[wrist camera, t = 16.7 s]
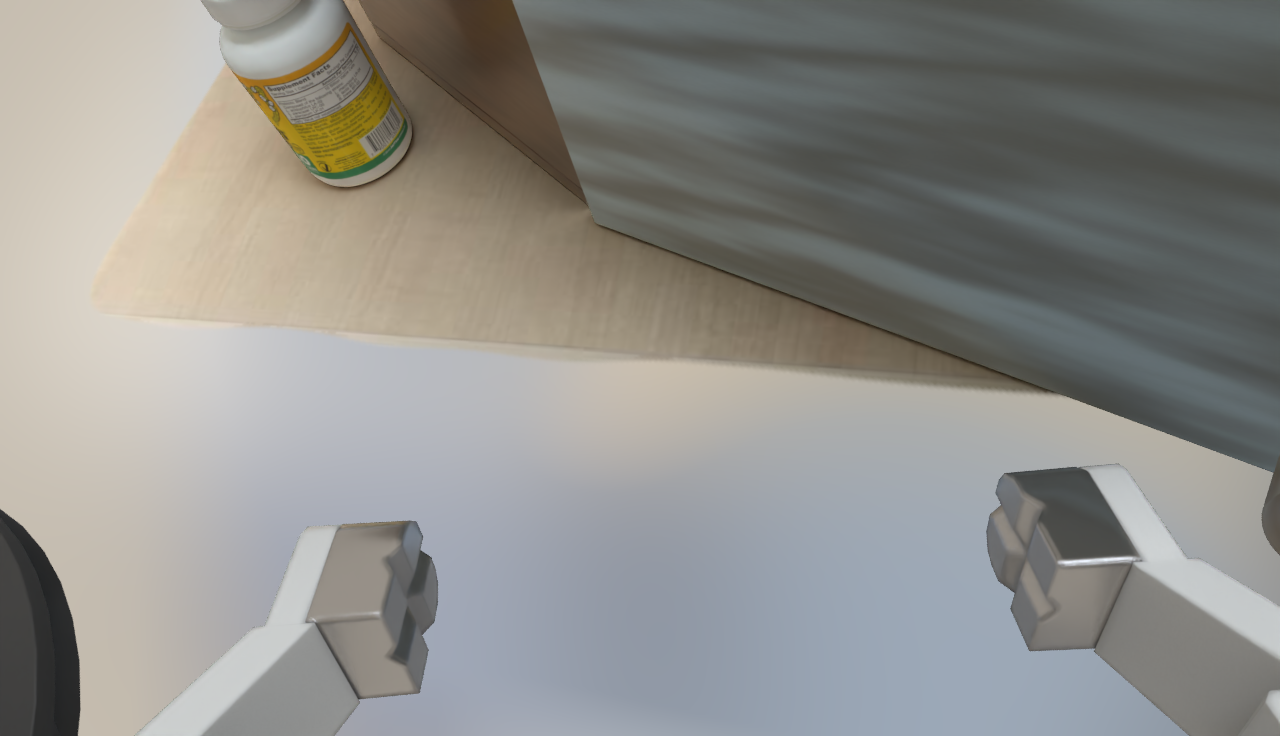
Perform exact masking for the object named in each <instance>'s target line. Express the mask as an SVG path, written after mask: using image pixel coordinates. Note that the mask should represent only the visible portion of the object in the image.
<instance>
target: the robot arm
mask: <svg viewBox="0 0 1280 736" xmlns="http://www.w3.org/2000/svg"><path fill="white" fill-rule="evenodd" d="M996 495H997V496H998V499H999V501H1000V503H1001V506H1000V507H998V508H997V509H996V510H995V511H994V512H993V513H991V514H990V517H989V522H988V526H987V547H988V553H989V557H990V561H991V564H992V567H993V569H994V572H995V574H996V577H997V579H998V581H999V582H1000V583H1002V584H1003V585H1004V586H1006V587H1008V588H1009V589H1010V590H1011V591H1013V592H1014V593H1015V595H1014V598H1013V602H1012V605H1011V611H1012V613H1013V616H1014V618H1015V620H1016V622H1017V625H1018V627H1019V629H1020V631H1021V634H1022V636H1023V638H1024V640H1025V643H1026V645H1027V647H1028V649H1029V651H1044V650H1045V651H1046V650H1068V649H1092V648H1095V650H1094V652H1095V653H1096V654H1097V655H1098V656H1100V657H1101V658H1102V659H1103V660H1104V661H1105V662H1106V663H1108V664H1109V665H1110V666H1111V667H1112V668H1113V669H1114V670H1115V671H1117V672H1118V673H1119V674H1120V675H1121V676H1122V677H1123V678H1125V679H1126V680H1127V681H1128V682H1129V683H1130V684H1131V685H1133V686H1134V687H1135V688H1136V689H1137V690H1138V691H1139V692H1140V693H1142V694H1143V695H1144V696H1145V697H1146V698H1147V699H1148V700H1150V701H1151V702H1152V703H1153V704H1154V705H1155V706H1156V707H1157V708H1158V709H1160V710H1161V711H1162V712H1163V713H1164V714H1165V715H1166V716H1168V717H1169V718H1170V719H1171V720H1172V721H1173V722H1174V723H1175V724H1177V725H1178V726H1179V727H1180V728H1181V729H1182V730H1183V731H1185V732H1186V733H1187V734H1188V735H1189V736H1280V606H1279V605H1277V604H1275V603H1274V602H1272V601H1270V600H1268V599H1267V598H1265V597H1264V596H1262V595H1260V594H1259V593H1257V592H1255V591H1254V590H1252V589H1250V588H1249V587H1247V586H1245V585H1244V584H1242V583H1240V582H1238V581H1237V580H1235V579H1234V578H1232V577H1230V576H1229V575H1227V574H1225V573H1224V572H1222V571H1220V570H1219V569H1217V568H1215V567H1214V566H1212V565H1210V564H1209V563H1207V562H1205V561H1204V560H1202V559H1200V558H1187V557H1186V555H1185V554H1184V552H1183V551H1182V549H1181V548H1180V546H1179V545H1178V543H1177V542H1176V540H1175V539H1174V538H1173V536H1172V535H1171V533H1170V532H1169V530H1168V529H1167V527H1166V526H1165V524H1164V523H1163V522H1162V520H1161V519H1160V517H1159V516H1158V514H1157V513H1156V511H1155V510H1154V508H1153V507H1152V506H1151V504H1150V503H1149V501H1148V500H1147V498H1146V497H1145V495H1144V494H1143V493H1142V491H1141V489H1140V488H1139V487H1138V485H1137V484H1136V482H1135V481H1134V479H1133V478H1132V476H1131V475H1130V473H1129V472H1128V470H1127V469H1126V468H1124V467H1123V466H1121V465H1120V464H1110V465H1097V466H1086V467H1079V468H1077V467H1069V468H1058V469H1047V470H1037V471H1025V472H1014V473H1004V475H1003V476H1002V477H1001V478H1000V479H999V482H998V485H997V489H996ZM422 540H423V535H422V533H421V531H420V529H419V527H418V524H417V522H416V521H395V522H378V523H377V522H376V523H357V524H342V525H328V526H312V527H307V528H306V529H305V531H304V532H303V533H302V534H301V535H300V536H299V538H298V541H297V544H296V546H295V549H294V551H293V554H292V556H291V559H290V562H289V564H288V566H287V569H286V571H285V574H284V577H283V579H282V582H281V585H280V587H279V589H278V592H277V594H276V597H275V600H274V602H273V605H272V608H271V610H270V612H269V615H268V617H267V620H266V622H265V625H264V626H261V627H253V628H252V629H251V630H250V631H249V632H248V633H247V634H246V635H244V636H243V637H242V638H241V639H240V640H239V641H238V642H237V643H236V644H235V645H233V646H232V647H231V648H230V649H229V650H228V651H227V652H226V653H225V654H224V655H222V656H221V657H220V658H219V659H218V660H217V661H216V662H215V663H214V664H212V665H211V666H210V667H209V668H208V669H207V670H206V671H205V672H204V673H203V674H201V675H200V676H199V677H198V678H197V679H196V680H195V681H194V682H193V683H192V684H190V685H189V686H188V687H187V688H186V689H185V690H184V691H183V692H182V693H180V694H179V695H178V696H177V697H176V698H175V699H174V700H173V701H172V702H171V703H170V704H169V705H167V706H166V707H165V708H164V709H163V710H162V711H161V712H160V713H158V714H157V715H156V716H155V717H154V718H153V719H152V720H151V721H150V722H149V723H147V724H146V725H145V726H144V727H143V728H142V729H141V730H140V731H139V732H138V733H137V734H136V735H134V736H335V734H336V733H337V732H338V730H339V729H340V728H341V727H342V725H343V724H344V723H345V721H346V720H347V719H348V718H349V716H350V715H351V714H352V712H353V711H354V710H355V709H356V707H357V706H358V705H359V703H360V701H359V699H366V698H377V697H387V696H397V695H408V694H418V693H420V689H421V684H422V679H423V675H424V670H425V665H426V660H427V655H428V651H429V650H428V648H427V645H426V643H425V641H424V638H423V636H422V635H423V634H424V632H426V630H427V629H428V628H429V627H430V626H431V625H432V624H433V623H434V621H435V616H436V610H437V605H438V604H437V603H438V581H437V576H436V570H435V566H434V564H433V561H432V558H431V557H430V556H429V555H427V554H425V553H424V552H422V551H421V550H420V548H421V544H422Z"/></svg>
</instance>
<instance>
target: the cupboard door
mask: <svg viewBox="0 0 1280 736" xmlns="http://www.w3.org/2000/svg"><path fill="white" fill-rule="evenodd" d="M512 1H513V4H514V7H515V9H516V12H517V15H518V17H519V20H520V23H521V26H522V28H523V31H524V34H525V36H526V39H527V42H528V44H529V47H530V50H531V52H532V55H533V58H534V61H535V63H536V66H537V69H538V71H539V74H540V77H541V79H542V82H543V85H544V87H545V90H546V93H547V96H548V98H549V101H550V104H551V106H552V109H553V112H554V114H555V117H556V120H557V122H558V125H559V128H560V131H561V133H562V136H563V139H564V141H565V144H566V147H567V149H568V152H569V155H570V157H571V160H572V163H573V166H574V168H575V171H576V174H577V176H578V179H579V182H580V184H581V187H582V190H583V192H584V195H585V198H586V201H587V203H588V206H589V209H590V211H591V214H592V217H593V219H594V222H595V223H597V224H599V225H602V226H605V227H608V228H610V229H613V230H616V231H618V232H621V233H624V234H627V235H629V236H632V237H635V238H637V239H640V240H643V241H646V242H648V243H651V244H654V245H656V246H659V247H662V248H665V249H667V250H670V251H673V252H675V253H678V254H681V255H684V256H686V257H689V258H692V259H694V260H697V261H700V262H703V263H705V264H708V265H711V266H714V267H716V268H719V269H722V270H724V271H727V272H730V273H733V274H735V275H738V276H741V277H743V278H746V279H749V280H752V281H754V282H757V283H760V284H762V285H765V286H768V287H771V288H773V289H776V290H779V291H781V292H784V293H787V294H790V295H792V296H795V297H798V298H800V299H803V300H806V301H809V302H811V303H814V304H817V305H819V306H822V307H825V308H828V309H830V310H833V311H836V312H839V313H841V314H844V315H847V316H849V317H852V318H855V319H858V320H860V321H863V322H866V323H868V324H871V325H874V326H877V327H879V328H882V329H885V330H887V331H890V332H893V333H896V334H898V335H901V336H904V337H906V338H909V339H912V340H915V341H917V342H920V343H923V344H925V345H928V346H931V347H934V348H936V349H939V350H942V351H945V352H947V353H950V354H953V355H955V356H958V357H961V358H964V359H966V360H969V361H972V362H974V363H977V364H980V365H983V366H985V367H988V368H991V369H993V370H996V371H999V372H1002V373H1004V374H1007V375H1010V376H1012V377H1015V378H1018V379H1021V380H1023V381H1026V382H1029V383H1031V384H1034V385H1037V386H1040V387H1042V388H1045V389H1048V390H1051V391H1053V392H1056V393H1059V394H1061V395H1064V396H1067V397H1070V398H1072V399H1075V400H1078V401H1080V402H1083V403H1086V404H1089V405H1091V406H1094V407H1097V408H1099V409H1102V410H1105V411H1108V412H1110V413H1113V414H1116V415H1118V416H1121V417H1124V418H1127V419H1130V420H1132V421H1135V422H1137V423H1140V424H1143V425H1146V426H1148V427H1151V428H1154V429H1156V430H1160V431H1162V432H1165V433H1167V434H1170V435H1173V436H1176V437H1179V438H1181V439H1184V440H1187V441H1189V442H1192V443H1195V444H1197V445H1200V446H1203V447H1205V448H1208V449H1211V450H1214V451H1216V452H1219V453H1222V454H1225V455H1227V456H1230V457H1233V458H1235V459H1238V460H1241V461H1244V462H1246V463H1249V464H1252V465H1254V466H1257V467H1260V468H1262V469H1265V470H1268V471H1271V472H1273V473H1274V474H1273V477H1272V481H1271V484H1270V487H1269V491H1268V494H1267V497H1266V500H1265V504H1264V507H1263V511H1262V526H1263V530H1264V533H1265V535H1266V538H1267V540H1268V541H1269V543H1270V545H1271V546H1272V547H1273V548H1274V550H1275V551H1276V552H1277V553H1278V554H1279V555H1280V0H512Z"/></svg>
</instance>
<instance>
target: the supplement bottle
mask: <svg viewBox="0 0 1280 736" xmlns="http://www.w3.org/2000/svg"><path fill="white" fill-rule="evenodd" d="M201 2H202V3H203V5H204V6H205V7H206V9H207V10H208V12H209V13H210V15H211V16H212V18H213V19H214V20H216V21H217V22H219V23H220V24H221V25H222V28H221V31H220V41H219V42H220V50H221V53H222V56H223V58H224V60H225V62H226V63H227V65H228V66H229V68H230V69H231V70H232V72H233V73H234V74H235V75H236V77H237V78H238V80H239V81H240V82H241V83H242V85H243V86H244V87H245V89H246V90H247V91H248V92H249V94H250V95H251V96H252V98H253V99H254V100H255V102H256V103H257V104H258V106H259V107H260V108H261V109H262V111H263V112H264V113H265V115H266V116H267V117H268V118H269V120H270V121H271V122H272V124H273V125H274V126H275V128H276V129H277V130H278V131H279V133H280V134H281V135H282V137H283V138H284V139H285V140H286V142H287V143H288V144H289V146H290V147H291V148H292V150H293V151H294V152H295V154H296V155H297V156H298V158H299V159H300V160H301V162H302V163H303V164H304V165H305V166H306V168H307V169H308V170H309V171H310V173H312V174H313V175H314V176H315V177H316V178H318V179H319V180H321V181H323V182H325V183H327V184H329V185H333V186H339V187H351V186H357V185H361V184H365V183H368V182H370V181H373V180H375V179H377V178H379V177H381V176H382V175H384V174H385V173H387V172H388V171H390V170H391V169H392V168H393V167H394V166H395V165H396V164H397V163H398V162H399V161H400V160H401V159H402V157H403V156H404V154H405V153H406V151H407V149H408V147H409V145H410V142H411V137H412V124H411V120H410V118H409V116H408V114H407V112H406V110H405V108H404V106H403V105H402V103H401V101H400V100H399V98H398V96H397V94H396V93H395V91H394V89H393V87H392V86H391V84H390V82H389V80H388V79H387V77H386V75H385V73H384V72H383V70H382V68H381V66H380V65H379V63H378V61H377V60H376V58H375V56H374V54H373V53H372V51H371V49H370V47H369V45H368V44H367V42H366V40H365V38H364V37H363V35H362V33H361V31H360V30H359V28H358V26H357V24H356V22H355V21H354V19H353V17H352V15H351V14H350V12H349V10H348V8H347V7H346V5H345V3H344V2H343V0H201Z"/></svg>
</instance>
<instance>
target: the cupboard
mask: <svg viewBox="0 0 1280 736" xmlns="http://www.w3.org/2000/svg"><path fill="white" fill-rule="evenodd" d="M359 2H360V4H361V6H362V7H363V9H364V11H365V13H366V15H367V16H368V18H369V20H370V21H371V23H372V25H373V27H374V29H375V31H376V32H377V34H378V36H379V37H380V38H381V39H383V40H384V41H385V42H386V43H387V44H389V45H390V46H391V47H392V48H394V49H395V50H396V51H397V52H399V53H400V54H401V55H402V56H404V57H405V58H406V59H407V60H409V61H410V62H411V63H412V64H414V65H415V66H416V67H417V68H419V69H420V70H421V71H422V72H423V73H425V74H426V75H427V76H428V77H430V78H431V79H432V80H433V81H435V82H436V83H437V84H438V85H440V86H441V87H442V88H443V89H445V90H446V91H447V92H448V93H450V94H451V95H452V96H453V97H455V98H456V99H457V100H458V101H460V102H461V103H462V104H463V105H464V106H466V107H467V108H468V109H469V110H471V111H472V112H473V113H474V114H476V115H477V116H478V117H479V118H481V119H482V120H483V121H484V122H486V123H487V124H488V125H489V126H491V127H492V128H493V129H494V130H496V131H497V132H498V133H499V134H501V135H502V136H503V137H504V138H505V139H507V140H508V141H509V142H510V143H512V144H513V145H514V146H515V147H517V148H518V149H519V150H520V151H522V152H523V153H524V154H525V155H527V156H528V157H529V158H530V159H532V160H533V161H534V162H535V163H537V164H538V165H539V166H540V167H542V168H543V169H544V170H545V171H546V172H548V173H549V174H550V175H551V176H553V177H554V178H555V179H556V180H558V181H559V182H560V183H561V184H563V185H564V186H565V187H566V188H568V189H569V190H570V191H571V192H573V193H574V194H575V195H576V196H578V197H579V198H580V199H581V200H582V201H584V202H585V203H586V204H587V205H588V203H587V201H586V198H585V195H584V192H583V190H582V187H581V184H580V182H579V179H578V176H577V174H576V171H575V168H574V166H573V163H572V160H571V157H570V155H569V152H568V149H567V147H566V144H565V141H564V139H563V136H562V133H561V131H560V128H559V125H558V122H557V120H556V117H555V114H554V112H553V109H552V106H551V104H550V101H549V98H548V96H547V93H546V90H545V87H544V85H543V82H542V79H541V77H540V74H539V71H538V69H537V66H536V63H535V61H534V58H533V55H532V52H531V50H530V47H529V44H528V42H527V39H526V36H525V34H524V31H523V28H522V26H521V23H520V20H519V17H518V15H517V12H516V9H515V7H514V4H513V1H512V0H359Z"/></svg>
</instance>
